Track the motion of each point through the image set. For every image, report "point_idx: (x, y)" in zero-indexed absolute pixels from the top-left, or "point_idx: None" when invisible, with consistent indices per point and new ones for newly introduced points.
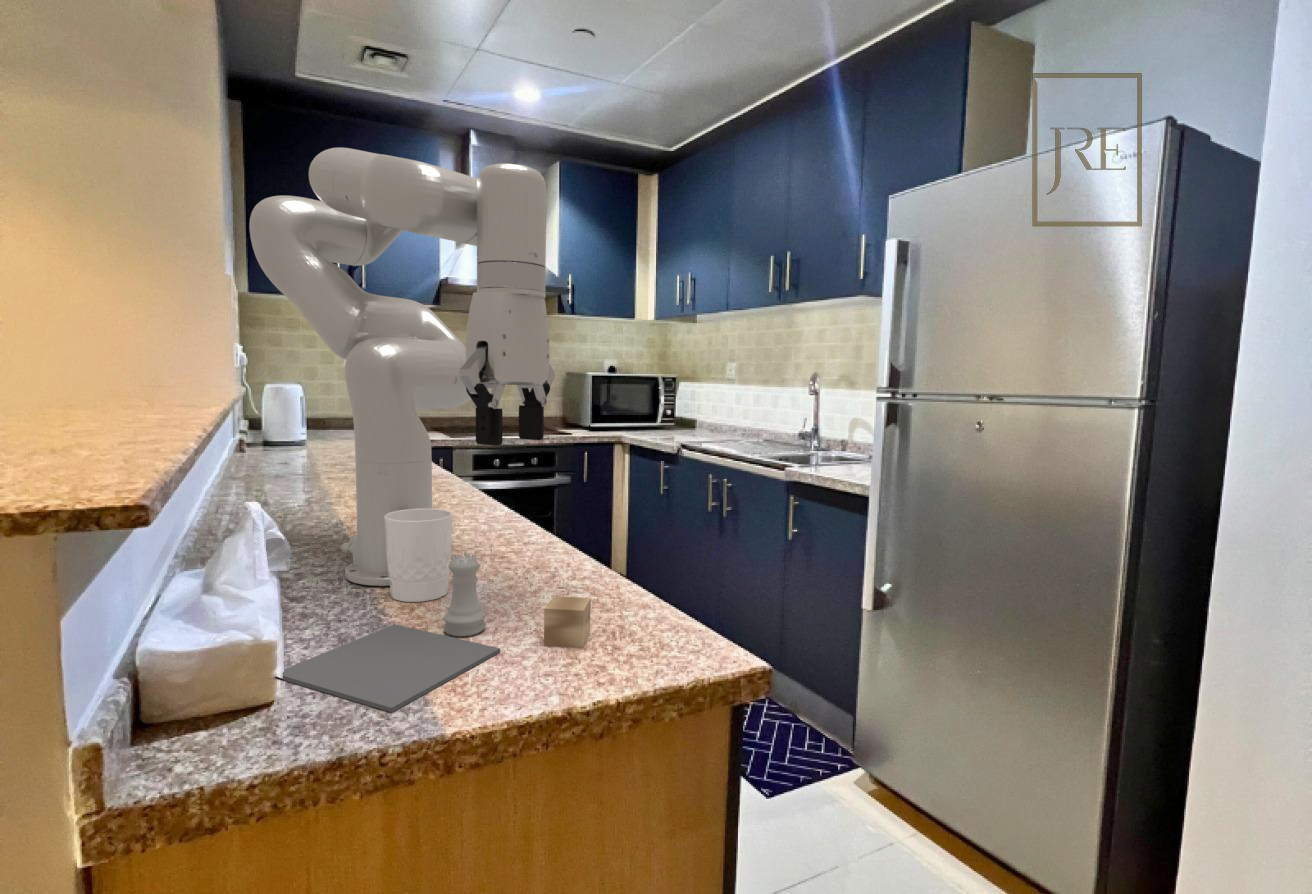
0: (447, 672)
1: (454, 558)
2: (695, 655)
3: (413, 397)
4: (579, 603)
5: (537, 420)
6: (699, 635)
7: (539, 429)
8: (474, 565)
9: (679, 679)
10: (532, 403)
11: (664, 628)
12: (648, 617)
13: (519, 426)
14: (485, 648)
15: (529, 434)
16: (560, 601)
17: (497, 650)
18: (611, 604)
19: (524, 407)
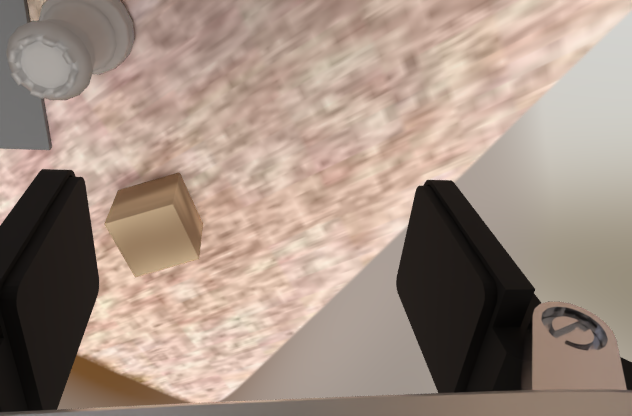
0: None
1: (14, 53)
2: (204, 355)
3: None
4: (163, 257)
5: (422, 344)
6: (272, 338)
7: (410, 317)
8: (51, 97)
9: (127, 364)
10: (482, 390)
11: (276, 297)
12: (310, 263)
13: (436, 218)
14: (32, 129)
15: (411, 251)
16: (154, 227)
17: (41, 149)
18: (347, 192)
19: (474, 325)
